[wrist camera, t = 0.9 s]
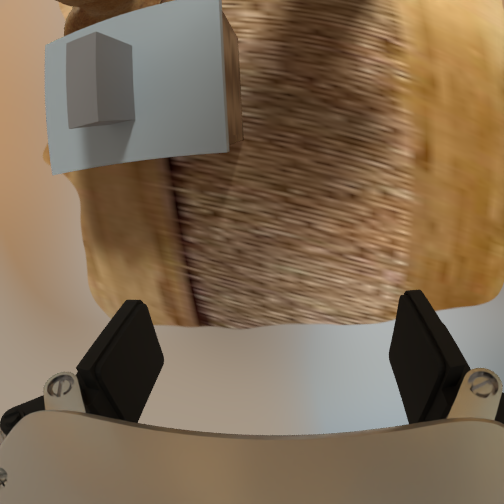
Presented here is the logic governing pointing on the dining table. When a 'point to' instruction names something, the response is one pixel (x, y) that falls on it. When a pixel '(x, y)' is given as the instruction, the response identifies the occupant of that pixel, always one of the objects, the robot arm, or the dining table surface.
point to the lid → (138, 87)
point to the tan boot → (99, 11)
